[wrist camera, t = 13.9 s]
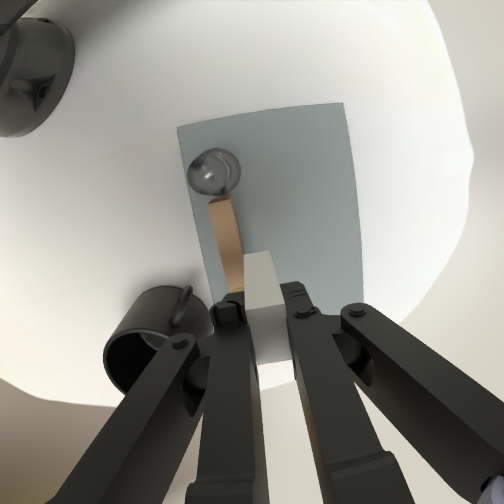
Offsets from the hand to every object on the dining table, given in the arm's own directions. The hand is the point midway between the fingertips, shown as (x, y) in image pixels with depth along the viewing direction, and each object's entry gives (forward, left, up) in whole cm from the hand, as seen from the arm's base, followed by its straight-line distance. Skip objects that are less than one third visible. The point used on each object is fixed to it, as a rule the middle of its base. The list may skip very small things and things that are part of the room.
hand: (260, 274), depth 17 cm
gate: (+1, -2, -11) cm, 11 cm away
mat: (0, +3, -12) cm, 12 cm away
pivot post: (-6, -2, -12) cm, 14 cm away
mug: (+8, -10, -12) cm, 18 cm away
